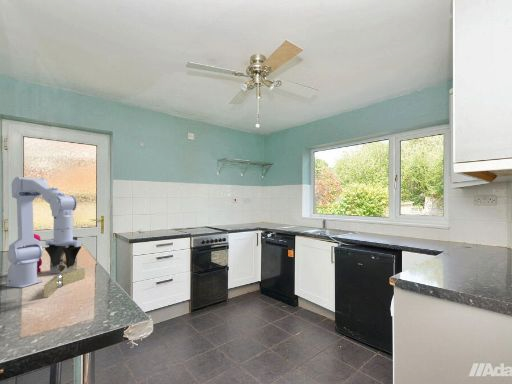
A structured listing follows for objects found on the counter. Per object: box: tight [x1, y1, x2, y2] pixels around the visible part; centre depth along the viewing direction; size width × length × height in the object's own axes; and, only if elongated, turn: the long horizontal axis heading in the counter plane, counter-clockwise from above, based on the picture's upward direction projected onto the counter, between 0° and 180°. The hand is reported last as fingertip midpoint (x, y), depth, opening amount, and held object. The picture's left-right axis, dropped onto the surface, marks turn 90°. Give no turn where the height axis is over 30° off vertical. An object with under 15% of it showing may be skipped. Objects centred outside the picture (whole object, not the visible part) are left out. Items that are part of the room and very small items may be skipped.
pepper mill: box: [24, 231, 43, 274], centre depth 124 cm, size 7×7×20 cm
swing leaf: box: [43, 274, 62, 298], centre depth 98 cm, size 3×13×4 cm, turn 21°
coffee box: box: [49, 236, 78, 275], centre depth 126 cm, size 9×6×16 cm
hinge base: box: [57, 267, 86, 289], centre depth 108 cm, size 3×13×4 cm, turn 165°
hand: (63, 265), depth 95 cm, fingers open, 6 cm apart
